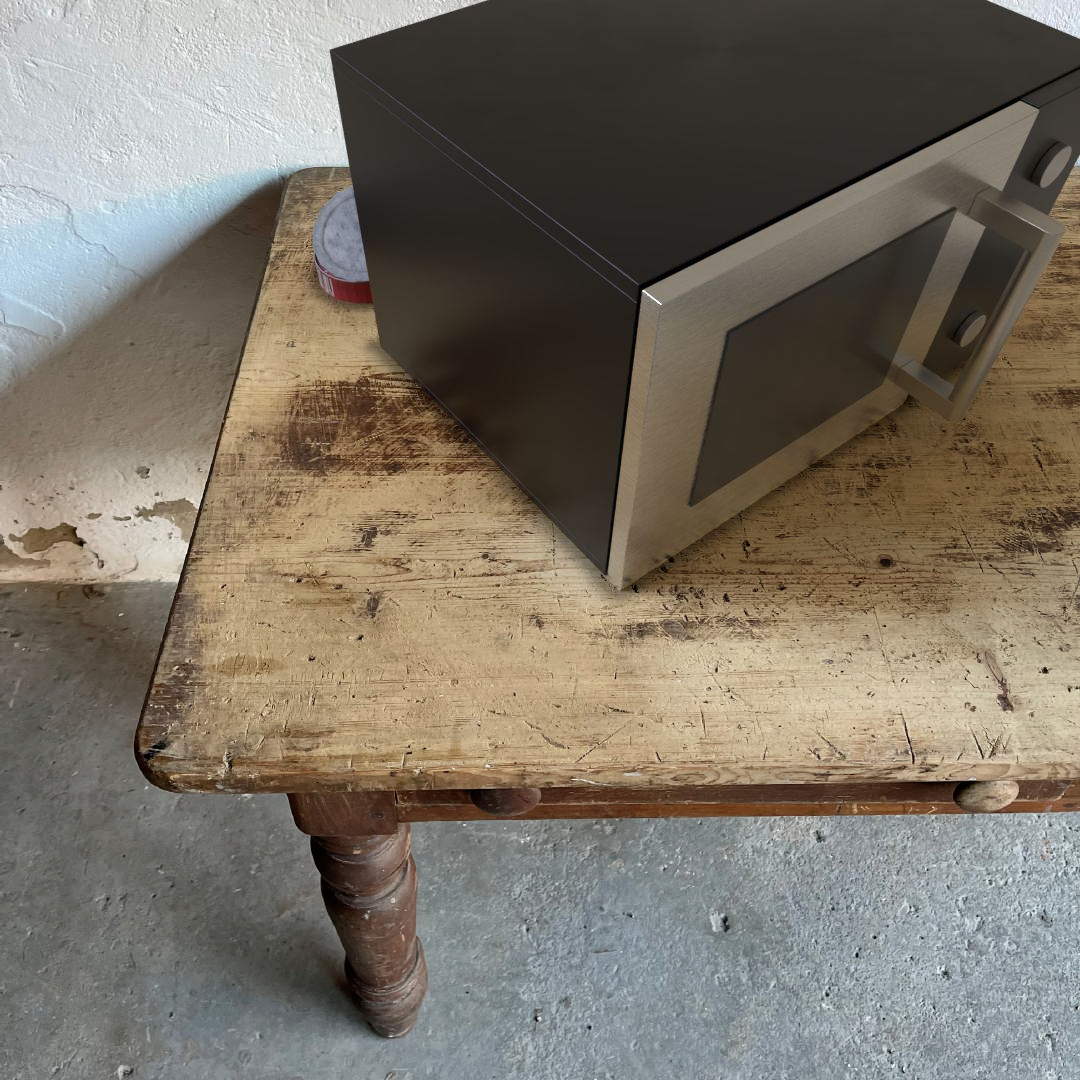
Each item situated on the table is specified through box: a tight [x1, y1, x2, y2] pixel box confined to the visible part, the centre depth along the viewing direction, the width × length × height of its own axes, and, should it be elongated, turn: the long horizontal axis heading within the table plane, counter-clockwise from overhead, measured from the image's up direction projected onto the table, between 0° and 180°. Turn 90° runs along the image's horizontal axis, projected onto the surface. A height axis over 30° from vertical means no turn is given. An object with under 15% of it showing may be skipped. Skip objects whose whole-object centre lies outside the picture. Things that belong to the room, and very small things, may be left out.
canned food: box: [312, 184, 373, 304], centre depth 91 cm, size 11×10×10 cm
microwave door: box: [606, 101, 1067, 592], centre depth 64 cm, size 8×35×28 cm, turn 127°
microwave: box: [329, 0, 1080, 576], centre depth 76 cm, size 36×46×28 cm
